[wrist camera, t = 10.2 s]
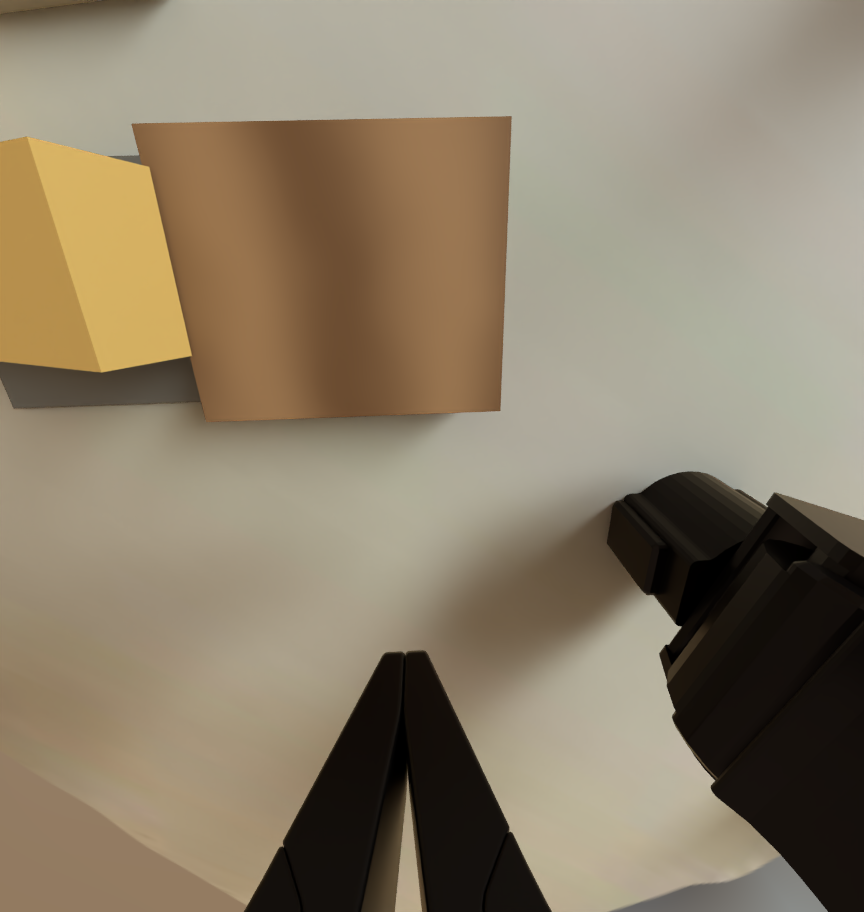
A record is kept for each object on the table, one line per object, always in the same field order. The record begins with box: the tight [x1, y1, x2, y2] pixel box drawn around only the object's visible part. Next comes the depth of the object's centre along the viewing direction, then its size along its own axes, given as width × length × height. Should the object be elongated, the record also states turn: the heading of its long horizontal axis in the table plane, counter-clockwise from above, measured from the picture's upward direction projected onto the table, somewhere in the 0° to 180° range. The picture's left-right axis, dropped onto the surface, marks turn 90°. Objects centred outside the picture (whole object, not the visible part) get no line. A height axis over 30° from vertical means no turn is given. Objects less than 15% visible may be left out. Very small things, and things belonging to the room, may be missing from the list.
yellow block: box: [0, 137, 192, 372], centre depth 13 cm, size 8×6×3 cm
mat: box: [0, 156, 201, 408], centre depth 17 cm, size 9×9×1 cm
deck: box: [132, 116, 512, 422], centre depth 15 cm, size 11×9×4 cm
